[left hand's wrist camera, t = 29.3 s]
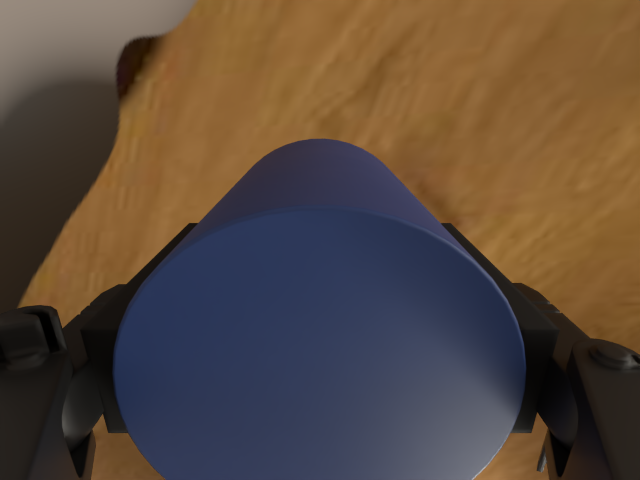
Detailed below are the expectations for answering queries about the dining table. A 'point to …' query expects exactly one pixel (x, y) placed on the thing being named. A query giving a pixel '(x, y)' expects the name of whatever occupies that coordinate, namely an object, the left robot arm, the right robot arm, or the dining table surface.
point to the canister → (319, 335)
